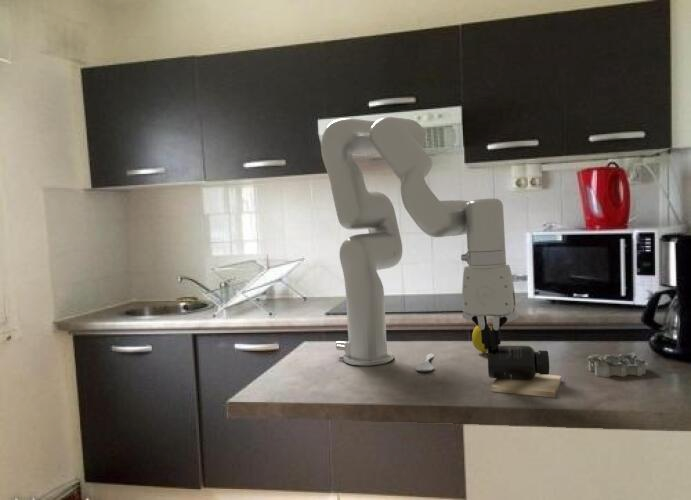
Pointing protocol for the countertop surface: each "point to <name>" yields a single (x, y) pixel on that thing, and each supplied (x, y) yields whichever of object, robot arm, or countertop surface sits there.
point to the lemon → (478, 340)
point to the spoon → (426, 364)
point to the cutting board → (529, 385)
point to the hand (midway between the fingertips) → (491, 347)
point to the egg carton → (617, 364)
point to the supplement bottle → (517, 362)
